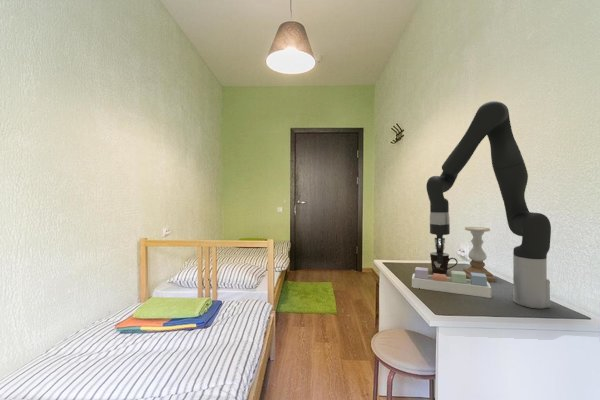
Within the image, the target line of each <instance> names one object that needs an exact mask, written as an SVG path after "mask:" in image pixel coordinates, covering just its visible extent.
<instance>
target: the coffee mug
mask: <svg viewBox="0 0 600 400" xmlns="http://www.w3.org/2000/svg"><path fill="white" fill-rule="evenodd" d="M436 252H437V251H434V252H433V251H431V252H430V254H429V255H430V262H431V270H432V271H431V272H432V274H433V273H436V274H445V275H446V276H447V275H448V270H450V269H452V268H454V267H455V266H456V267H457V265H458V259H457V258H455V257H450V254H449V253H447V252H444V254H443V264H438V263H437V254H436ZM449 257H450V258H449ZM450 260H455V262H456V263H455V264H454V265H451V266H450V267H449V262H450Z"/></svg>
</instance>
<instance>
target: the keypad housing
mask: <svg viewBox="0 0 600 400" xmlns="http://www.w3.org/2000/svg"><path fill="white" fill-rule="evenodd" d="M411 276H412V277H411V288H412V287H413V288H414V289H419V288H420V289H421V290H426V291H427V290H428V291H435V292H442V293H443V292H444V293H450V294H457V295H467V296H472V297H473V296H474V297H479V298H488V299H491V298H492V287H491V284H490V282H487V287H486V286H478V285H471V280H468V279H466V284H461V283H452V282H451V277H450V276H446V282H443V281H435V280H433V275H431V274H428V280H426V279H418V278H415V273H412V275H411ZM413 288H412V289H413Z"/></svg>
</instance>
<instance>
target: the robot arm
mask: <svg viewBox="0 0 600 400" xmlns="http://www.w3.org/2000/svg"><path fill="white" fill-rule="evenodd" d="M511 125H512V123H511V119H510V112H509V108H508V107H507V105H506V104H505V103H503V102H500V101H497V100H496V101H495V100H494V101H493V100H492V101H487V102H485V103H483V104H482V105H481V106H479V107H478V109H477V111H476V113H475V115H474V117H473V119H472V121H471V123H470V125H469V126H468V128H467V129H466V131H465V133H464V135H463V136H462V138H461V139H460V141H459V142H458V143H457V144H456V145H455V147H454V148H453V150H452V152H451V153H450V154H449V155H448V156H447V158H446V160H445V161H444V162H443V164H442V165H441V170H442V172H441V174H440V175H434V176H433V175H432V176H430V177H429V178H428V180H427V181H426V188H425V189H426V192H427V196H428V200H429V205H430V206H429V208H430V209H429V210H430V211H429V213H430V214H429V233H430V234H431V235H434V236H435V235H436V237H434V246H435V247H434V249H435V250H436V251H435V252H436V254H437V263H438V264H443V254H444V253H445V252H444V250H445V244H446V238H445V237H443V236H447V235H450V233H451V231H450V230H451V227H450V221H451V220H450V214H449V213H450V209H449V206H450V205H449V200H448V199H447V198H445V195H444V193H446V192H448V191H450V189H452V187H453V186H454V184H455V183H456V180H457V178H458V176H459V174H460V173H461V171H462V170H463V169H464V168H465V166H467V164H468V162H469V161H470V159H471V158H472V156H473V155H474V153H475V152H476V150H477V149H478V146H479V145H480V144H481V142H482V141H484V139H485V138H486V137H487V138H488V141H489V146H490V159H491V165H492V166H491V167H492V170H493V173H494V176H495V179H496V181H497V184H498V188H499V192H500V194H501V197H502V200H503V201H502V202H503V204H504V205H503V206H504V210H505V216H506V221H507V225H508V229H509V230H510V231H511V233H512V234H514V235H516V236H519V237H522V238H521V244H520V245H517V246H515V247H514V248H513V251H512V253H513V258H512V259H513V264H512V265H513V273H512V274H513V277H512V278H513V279H512V280H513V283H512V284H513V287H512V289H513V290H512V291H513V294H512V296H513V302H514V303H515V304H517V305H519V306H522V307H526V308H531V309H538V310H540V309H541V310H542V309H546V308H550V307H551V293H550V292H551V280H550V279H548V278H547V275H548V273H547V272H548V271H547V269H548V267H547V266H548V265H547V263H548V261H547V258H548V253H549V251H550V248H551V239H552V237H551V236H552V225H551V222H550V219H549V218H548V216H546V215H545V214H543V213H540V212H533V211H532V212H530V211H529V208H528V205H527V202H526V199H525V197H526V196H525V194H526V188H527V185H528V180H529V174H528V170H527V167H526V166H527V165H526V163H525V160H524V158H523V156H522V152H521V150H520V148H519V146H518V143H517V141H516V139H515V137H514V134H513V130H512V126H511Z"/></svg>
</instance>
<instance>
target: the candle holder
mask: <svg viewBox="0 0 600 400" xmlns="http://www.w3.org/2000/svg"><path fill="white" fill-rule="evenodd" d="M464 230H465V231H469V232H470V234H471V236H472V239H470V242H471V244H472V248H471V250H470V251H469V252H468V255H467V257H468V258H469V259H470V262H469V265H470V266H469V267H465V268H464V267H463V269H462V270H460V271H461V272H465V273H466V279H468V280H471V273H481V274H485V275H486V276H487V282H488V283H496V277H494V275H493V273H491V272H490V271H488V270H487V268H485V266H486V264H485V262H484V261H485V260H487V254H486V252H485V251H484V249H483V248H482V245H483V243H485V241H484V240H483V237H482V236H483V235H485V232H490V231H491V229H490V227H483V226H482V227H481V226H479V227H478V226H466V227H465V226H464Z"/></svg>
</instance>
